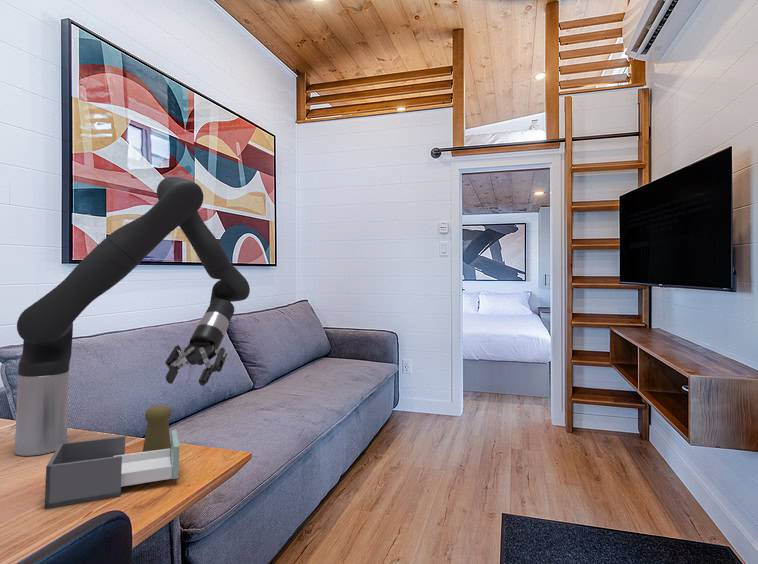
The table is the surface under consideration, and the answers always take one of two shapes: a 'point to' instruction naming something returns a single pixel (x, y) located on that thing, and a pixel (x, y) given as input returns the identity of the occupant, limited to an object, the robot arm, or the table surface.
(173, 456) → the drawer
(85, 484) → the box
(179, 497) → the table surface
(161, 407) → the cork
